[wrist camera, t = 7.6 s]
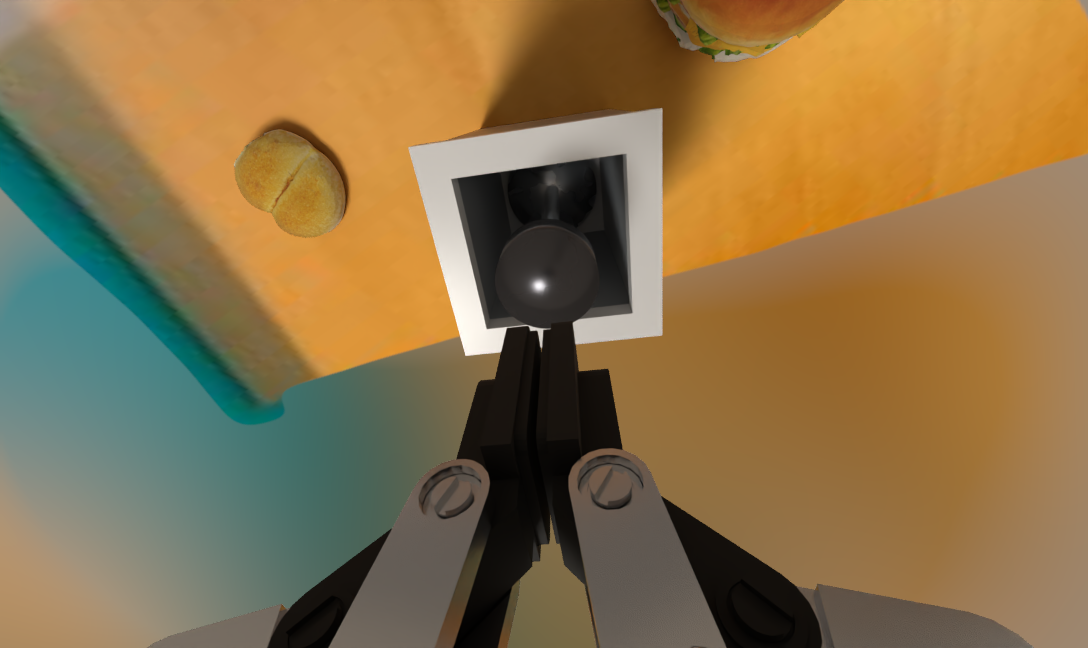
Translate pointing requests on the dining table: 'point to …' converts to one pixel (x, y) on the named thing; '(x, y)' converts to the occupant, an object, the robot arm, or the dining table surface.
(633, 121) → the grey tall box
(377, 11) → the dining table surface
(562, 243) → the plunger
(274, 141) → the bread roll
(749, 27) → the burger
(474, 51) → the dining table surface
